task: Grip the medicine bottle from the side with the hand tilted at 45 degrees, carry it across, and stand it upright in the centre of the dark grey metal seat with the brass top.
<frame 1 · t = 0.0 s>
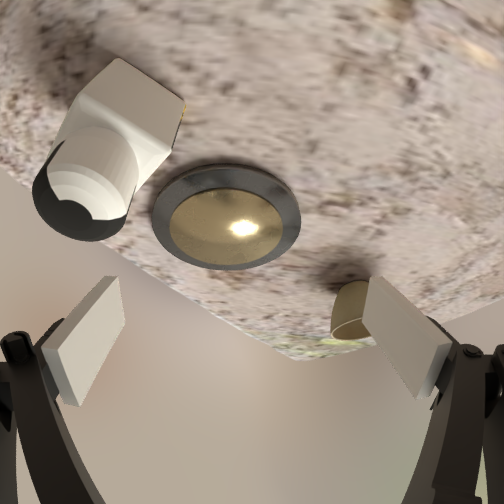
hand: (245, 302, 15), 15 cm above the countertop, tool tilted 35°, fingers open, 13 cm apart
medicine bottle: (129, 108, 21), on the countertop
flower pot: (354, 287, 46), on the countertop
seat: (226, 222, 33), on the countertop
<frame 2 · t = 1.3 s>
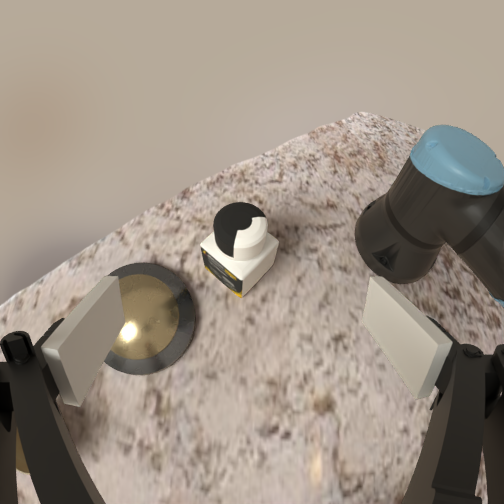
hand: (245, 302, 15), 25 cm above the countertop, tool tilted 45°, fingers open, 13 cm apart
medicine bottle: (239, 266, 44), on the countertop
flower pot: (46, 437, 29), on the countertop
seat: (138, 318, 39), on the countertop
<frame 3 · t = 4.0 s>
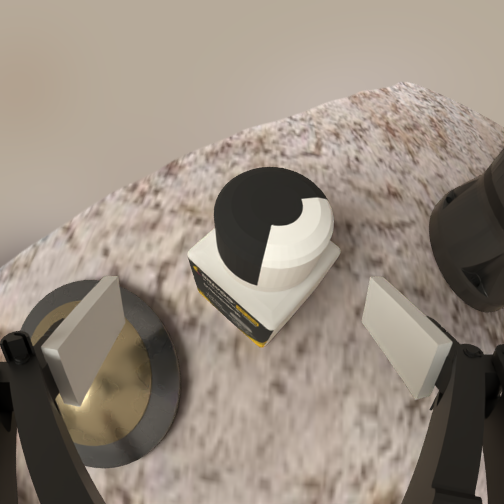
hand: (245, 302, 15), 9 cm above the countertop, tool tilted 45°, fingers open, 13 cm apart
medicine bottle: (257, 290, 25), on the countertop
seat: (88, 374, 21), on the countertop
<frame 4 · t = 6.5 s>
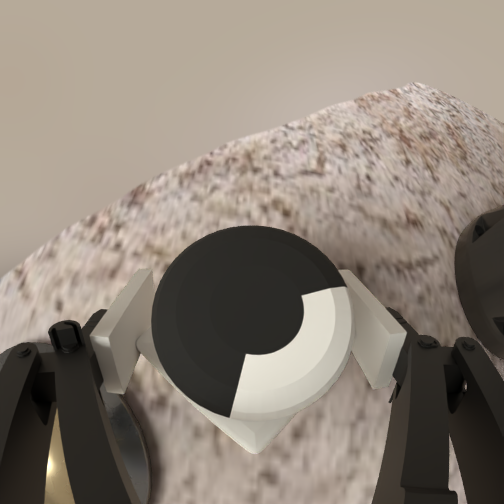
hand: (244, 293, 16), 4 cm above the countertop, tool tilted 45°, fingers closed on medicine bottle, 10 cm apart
medicine bottle: (243, 361, 19), on the countertop, touching gripper
seat: (49, 449, 14), on the countertop
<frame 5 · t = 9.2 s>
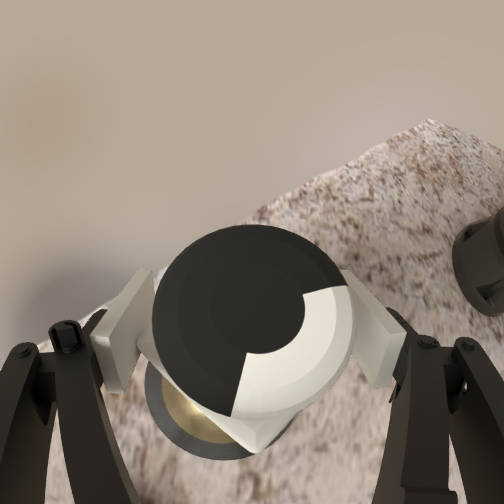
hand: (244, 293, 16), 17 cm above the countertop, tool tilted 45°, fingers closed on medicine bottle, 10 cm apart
medicine bottle: (243, 361, 19), point 12 cm above the countertop, touching gripper
seat: (221, 387, 29), on the countertop
when the fingers open (7 cm above the countertop, at t = 12.1 s): medicine bottle stays where it is, resting on seat.
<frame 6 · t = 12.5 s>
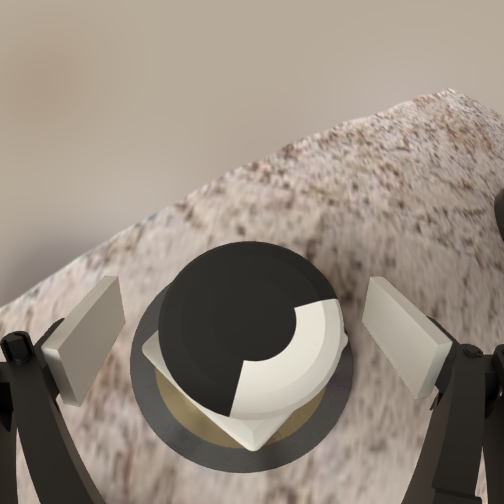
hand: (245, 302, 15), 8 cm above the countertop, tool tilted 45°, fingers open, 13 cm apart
medicine bottle: (242, 364, 19), point 1 cm above the countertop, touching seat
seat: (241, 365, 21), on the countertop
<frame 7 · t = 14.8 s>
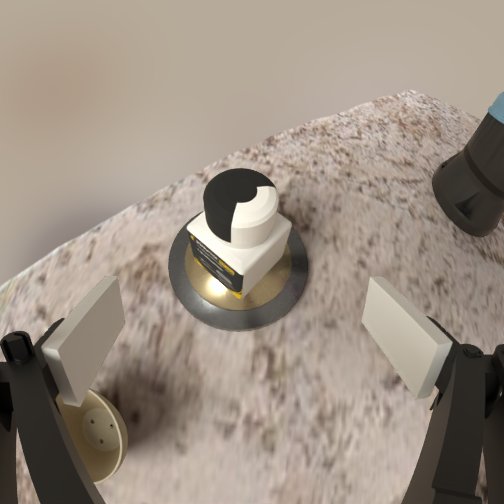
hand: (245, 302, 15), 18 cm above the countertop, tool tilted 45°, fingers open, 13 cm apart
medicine bottle: (238, 259, 34), point 1 cm above the countertop, touching seat
flower pot: (103, 429, 25), on the countertop
seat: (238, 263, 35), on the countertop
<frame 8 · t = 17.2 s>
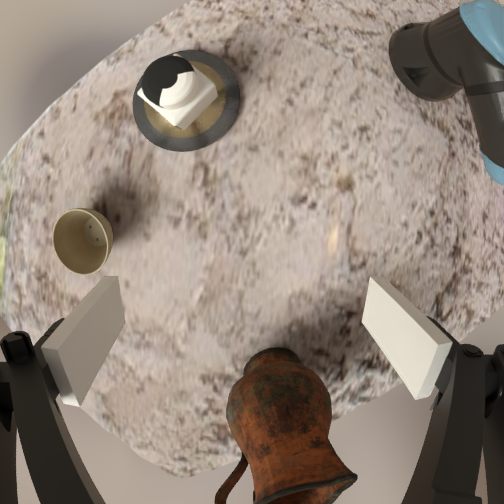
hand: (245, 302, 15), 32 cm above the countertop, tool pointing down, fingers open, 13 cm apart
pitcher: (262, 373, 55), on the countertop
medicine bottle: (184, 98, 39), point 1 cm above the countertop, touching seat
flower pot: (98, 230, 45), on the countertop
seat: (185, 100, 40), on the countertop
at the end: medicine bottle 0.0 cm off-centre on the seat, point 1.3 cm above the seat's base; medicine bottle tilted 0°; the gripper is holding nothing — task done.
